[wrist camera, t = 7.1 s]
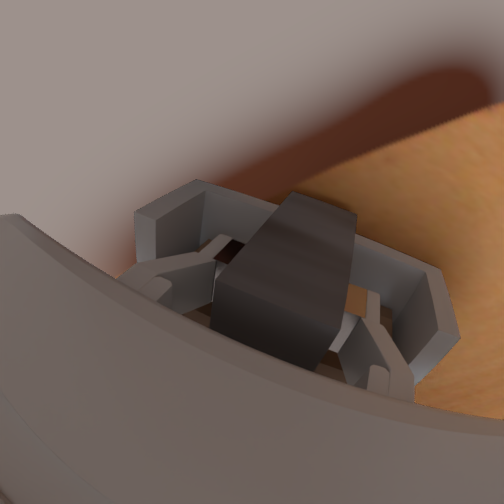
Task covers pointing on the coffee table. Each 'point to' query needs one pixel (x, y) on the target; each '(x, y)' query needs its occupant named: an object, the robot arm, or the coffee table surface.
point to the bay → (362, 272)
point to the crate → (289, 286)
